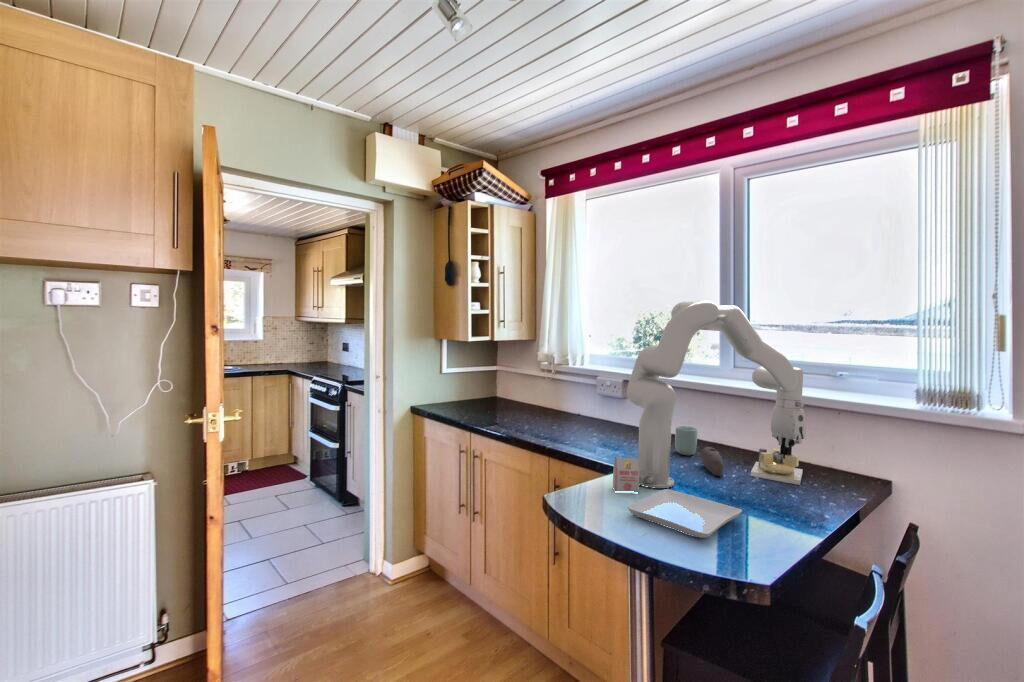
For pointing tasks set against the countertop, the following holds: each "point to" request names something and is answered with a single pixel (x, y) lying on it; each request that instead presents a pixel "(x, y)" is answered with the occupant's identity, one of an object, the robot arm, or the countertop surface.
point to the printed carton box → (626, 474)
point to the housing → (787, 478)
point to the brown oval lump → (712, 460)
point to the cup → (686, 440)
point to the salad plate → (705, 508)
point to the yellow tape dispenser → (778, 462)
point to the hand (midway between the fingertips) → (785, 457)
